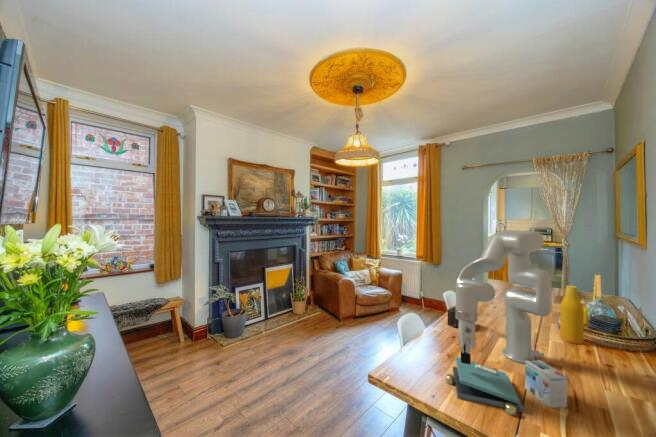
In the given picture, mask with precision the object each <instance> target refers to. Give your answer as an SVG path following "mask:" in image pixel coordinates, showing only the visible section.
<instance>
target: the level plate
mask: <svg viewBox="0 0 656 437" xmlns="http://www.w3.org/2000/svg"><path fill="white" fill-rule="evenodd" d="M455 363H456V364H455V365H456V367H457V369H458V374H459V379H460V383H461V384H464V385H467V386H470V387H473V388H475V389H478V390H481V391H484V392H486V393H489V394H492V395H495V396H498V397H500V398H503V399H506V400H509V401H511V402H514V403H517V404H519V399H520V398H519V399H518V397H519V396H518V397H517V395H518V394H517V395H516V393H517V392H516V393H515V391H516V390H515V391H514V389H515V388H514V389H513V387H514V386H513V387H512V385H513V384H512V385H511V383H512V382H511V383H510V381H511V380H510V381H509V379H510V378H509V379H508V377H509V376H508V375H507V374H506V372H503V371H501V370H498V371H497V369H495V370H494V368H491V367H488V366H484V365H482V364H479V363H476V362H472V361H471V363H470V364H465V363H461V357H458V356H455ZM507 376H508V377H507Z"/></svg>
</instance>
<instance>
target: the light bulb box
mask: <svg viewBox="0 0 656 437" xmlns="http://www.w3.org/2000/svg"><path fill="white" fill-rule="evenodd" d="M524 364H525V367H524V368H525V371H524V372H525V373H524V374H525V375H524V377H525V378H524V381H525V382H524V383H525V384H524V387H525V390H526V391H527V392H529V393H530V394H531V395H533V396H534V397H535V398H537V399H538V400H539V401H540V400H541V401H540V402H541V403H543V404H544V405H545V404H546V405H545V406H547V407H548V408H567V407H568V375H566V374H564V373H563V372H561V371H559V370H558V369H555V368H554V367H553V366H551V365H550V364H548V363H546V362H544V361H543V360H535V361H526V363H524Z"/></svg>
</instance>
